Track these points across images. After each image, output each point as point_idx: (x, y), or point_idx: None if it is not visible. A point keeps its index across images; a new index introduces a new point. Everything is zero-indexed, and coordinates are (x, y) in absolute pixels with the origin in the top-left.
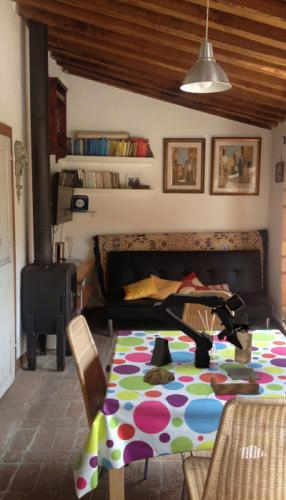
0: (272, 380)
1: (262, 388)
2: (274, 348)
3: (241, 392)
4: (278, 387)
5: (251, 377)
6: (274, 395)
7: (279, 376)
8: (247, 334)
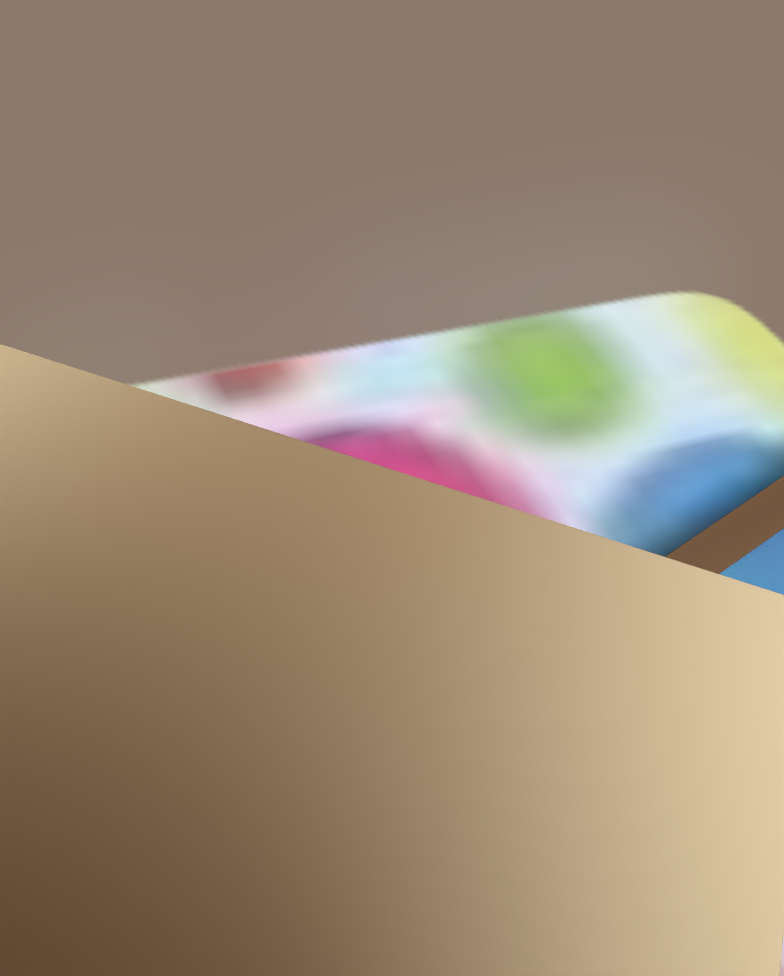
0: (381, 421)
1: (658, 460)
2: None
3: None
4: (532, 340)
5: (719, 550)
6: (742, 333)
7: (230, 386)
8: (452, 503)
